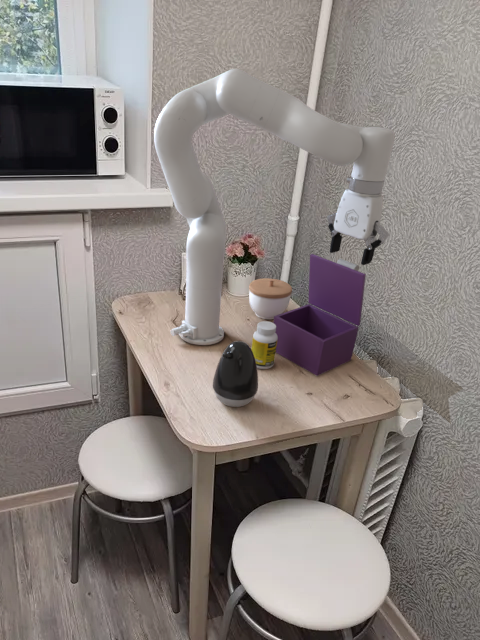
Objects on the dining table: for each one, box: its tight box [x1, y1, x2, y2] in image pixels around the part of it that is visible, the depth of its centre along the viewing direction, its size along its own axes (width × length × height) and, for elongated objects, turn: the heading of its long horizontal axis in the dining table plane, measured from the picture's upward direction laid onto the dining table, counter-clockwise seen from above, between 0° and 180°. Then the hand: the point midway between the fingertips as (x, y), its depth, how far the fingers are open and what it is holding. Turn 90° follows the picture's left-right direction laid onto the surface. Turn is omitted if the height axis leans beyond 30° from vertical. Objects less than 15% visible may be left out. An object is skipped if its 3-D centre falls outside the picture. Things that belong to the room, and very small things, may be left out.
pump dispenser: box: [212, 340, 259, 408], centre depth 116 cm, size 10×10×15 cm
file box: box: [272, 303, 360, 377], centre depth 137 cm, size 14×17×10 cm
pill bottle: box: [250, 320, 278, 370], centre depth 132 cm, size 6×6×11 cm
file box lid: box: [307, 253, 367, 327], centre depth 134 cm, size 14×17×6 cm
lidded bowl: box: [248, 277, 293, 320], centre depth 156 cm, size 13×13×11 cm
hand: (349, 257), depth 131 cm, fingers open, 9 cm apart
